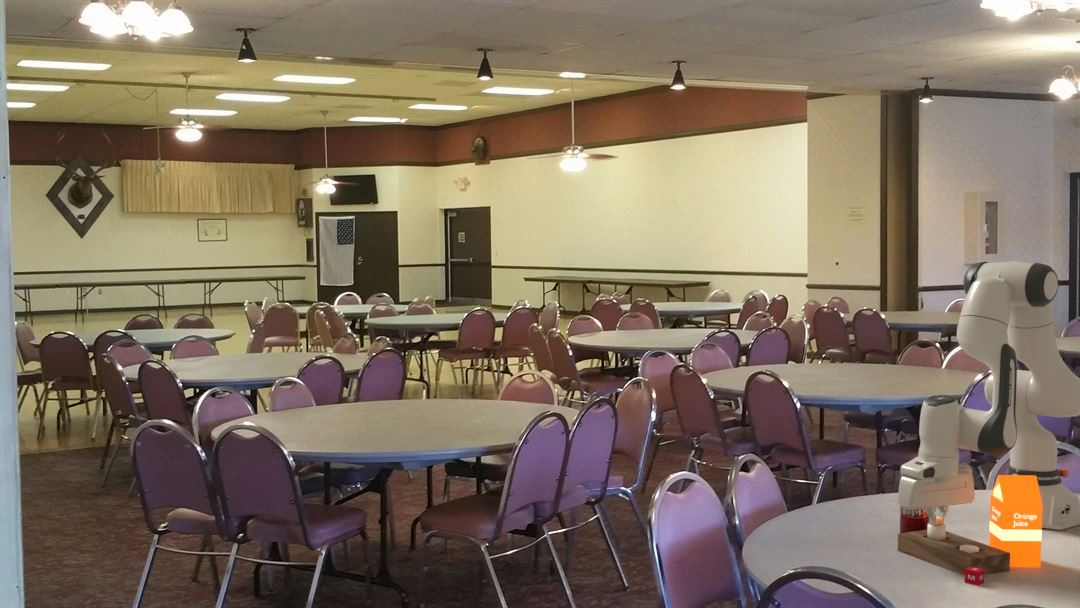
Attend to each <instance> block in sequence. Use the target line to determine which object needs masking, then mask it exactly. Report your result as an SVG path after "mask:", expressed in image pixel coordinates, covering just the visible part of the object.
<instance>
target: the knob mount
mask: <svg viewBox="0 0 1080 608" xmlns="http://www.w3.org/2000/svg"><path fill="white" fill-rule="evenodd" d="M961 545H973V546H976V547H978V548H979V552H973V553H968V552H965V551H962V550H960V546H961ZM897 551H898V552H901V553H902V554H906V555H909V556H911V557H914V558H917V559H919V560H922V561H924V562H927V563H930V564H932V565H935V566H937V567H940V568H943V569H946V570H948V571H951V572H954V573H956V574H959V575H962V576H964V577H965V569H966V568H968V567H971V566H973V567H977V568H982V569H985V576H986V575H991V574H997V573H1003V572H1009V571H1011V570H1010V569H1011V567H1010V553H1009V552H1006V551H1003V550H1000V549H997V548H994V547H991V546H989V544H985V543H982V542H979V541H977V540H973V539H970V538H967V537H965V536H962V535H958V534H955V533H953V532H950V531H946V538H945V540H941V541H934V540H931V539H928V538H927V530H921V531H914V532H907V533H900V532H899V533H897Z"/></svg>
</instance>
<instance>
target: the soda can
mask: <svg viewBox="0 0 1080 608" xmlns="http://www.w3.org/2000/svg"><path fill="white" fill-rule="evenodd" d="M899 506H900V505H899ZM899 508H900V513H899V514H900V516H899V517H900V518H899V534H900V533H907V532H914V531H921V530H927V527H928V523H929V517H928V515H927V513H926V511H925V509H919V510H907V509H904V508H902V507H901V506H900V507H899Z"/></svg>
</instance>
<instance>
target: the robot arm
mask: <svg viewBox="0 0 1080 608" xmlns="http://www.w3.org/2000/svg"><path fill="white" fill-rule="evenodd" d="M1058 288H1059V279H1058V275H1057V273H1056V271H1055V270H1054V269H1053V268H1052V266H1050V265H1048V264H1045V263H1041V262H1035V263H1032V262H1026V261H1017V260H1010V261H991V262H988V261H979V262H976V263H973V264H971V266H970V267H969V268H968V269H967V270H966V272H965V274H964V277H963V291H964V293H965V295H966V296H965V298H964V301H963V304H962V307H961V310H960V315H959V319H958V324H957V327H956V340H957V343H958V345H959V347H960V349H962V351H963V352H965V354H966V355H968V356H969V357H971V358H973V359H974V360H976V361H978V362H980V363H982V364H984V365H986V366H987V367H988V368H989V369H990V371H991V373H990V374H989V376H988V377H987V378H986V381H985V382H984V387H983V389H984V395H985V399H986V401H987V403H988V404H989V405H990V406H991V408H990V409H989V410H980V409H975V408H974V409H973V408H969V407H964V406H962V405H960V404H959V401H958V399H957V398H956V397H955V396H953V395H947V394H938V395H937V394H936V395H930V396H929V397H927V398H925V399H924V400H923V402H922V405H921V409H920V416H919V427H918V428H919V430H918V432H919V433H918V435H919V440H920V445H919V448H918V454H917V455H918V456H915V457H914V458H913V459H911V460H909V461H908V462H905V463H903V464H902V465H900V471H899V472H900V473H901V475H902V476H901V478H900V479H899V485H898V504H899V506H901V507H902V508H904V509H907V510H919V509H925V511H926V513H927V515H928V517H929V524H930V525H931V526H937V525H943V524H944V525H945V517H946V516H947V514H948V513H949V507H950V506H957V505H965V504H972V503H973V502H974V500H975V482H974V481H975V480H974V476H973V468H972V466H971V465H970V464H969V463H965V462H964V463H960V462H959V461H960V459H959V458H960V452H959V449H962V450H966V451H971V452H972V451H973V452H976V453H977V452H979V453H981V454H985V455H988V456H993V457H996V458H999V457H1001V456H1003V455H1005V454H1007V453H1008V452H1009V456H1010V457H1009V464H1008V466H1007V475H1032V476H1036V477H1037V482H1038V486H1039V491H1040V495H1041V500H1042V503H1043V506H1042V529H1049V530H1057V531H1061V530H1066V529H1070V528H1072V527H1076V526H1080V498H1079V497H1078V496H1077V495H1076V494H1075V493H1073V491H1071V489H1069V488H1068V487H1067V486H1066V485H1064V483H1062V478H1061V477H1063V478H1064V479H1065V478H1068V476H1069V475H1070V472H1069V470H1068V469H1064V468H1059V469H1058V468H1057V466H1058V440H1057V439H1056V436H1055V435H1054V434H1053V433H1052V432H1051V431H1049V430H1048V429H1046V428H1045V427H1043V425H1042V424H1041V423H1040V421H1039V420H1038V416H1037V415H1039V416H1046V417H1053V418H1071V417H1079V416H1080V377H1079V376H1077V375H1076V374H1075V373H1074V372H1072V370H1070V368H1069V367H1068V366H1067V364H1066V363H1065V361H1064V360H1063V358H1062V357H1061V354H1060V352H1059V348H1058V344H1057V338H1056V333H1055V332H1056V331H1055V321H1054V313H1053V312H1054V310H1053V305H1052V302H1053V300H1055V298H1056V296H1057V294H1058ZM1018 361H1019V362H1021V363H1022V364H1023V365H1025V366H1026V368H1027V369H1028V370H1023V369H1018V368H1017V367H1018V365H1017V364H1018ZM937 509H938V510H937ZM936 512H937V513H936Z"/></svg>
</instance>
